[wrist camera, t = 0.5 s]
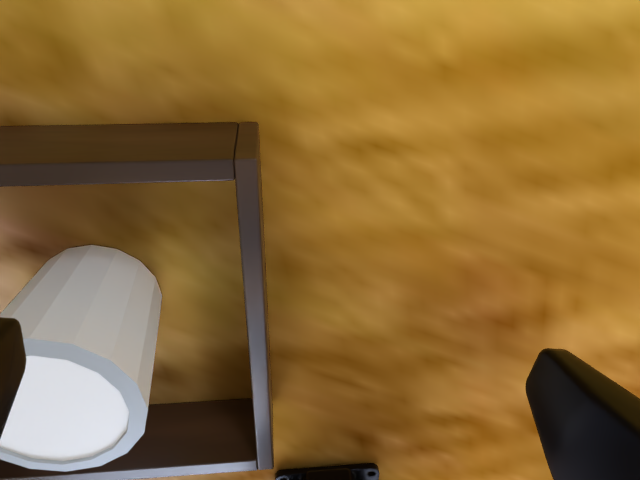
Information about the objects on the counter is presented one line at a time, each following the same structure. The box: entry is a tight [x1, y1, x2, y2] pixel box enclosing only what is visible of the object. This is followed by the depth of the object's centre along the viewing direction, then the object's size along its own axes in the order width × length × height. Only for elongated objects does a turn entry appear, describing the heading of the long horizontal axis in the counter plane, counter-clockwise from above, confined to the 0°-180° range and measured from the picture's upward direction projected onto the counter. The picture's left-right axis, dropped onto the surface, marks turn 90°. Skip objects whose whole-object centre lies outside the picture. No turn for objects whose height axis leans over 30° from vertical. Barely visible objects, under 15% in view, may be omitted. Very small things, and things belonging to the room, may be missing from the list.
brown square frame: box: [0, 122, 274, 480], centre depth 23 cm, size 17×16×4 cm
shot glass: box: [0, 245, 162, 472], centre depth 21 cm, size 7×7×7 cm
